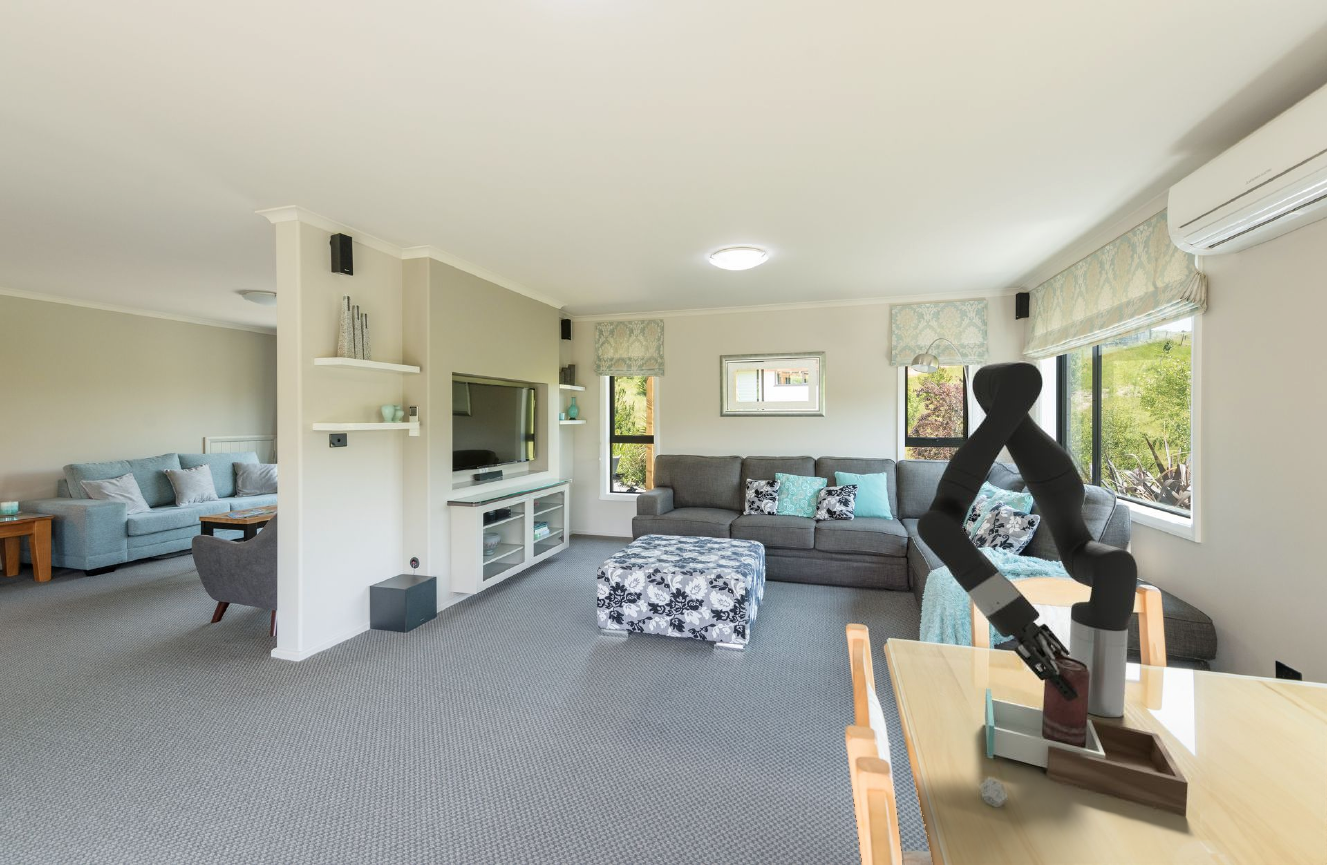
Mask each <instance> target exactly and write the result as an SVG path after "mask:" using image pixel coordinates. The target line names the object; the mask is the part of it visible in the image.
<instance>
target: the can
mask: <svg viewBox="0 0 1327 865" xmlns="http://www.w3.org/2000/svg"><path fill="white" fill-rule="evenodd" d="M1054 657H1055V661H1054V662H1055V664H1056V666H1057V667H1058V669H1059V670H1060V672H1061V674H1063V675H1064V676H1065V678H1066V679H1067V680H1068V681H1069V682H1070V683H1071V685H1072V686H1073V687H1074V688H1075V689H1076V690H1077V691H1078V693H1079V696H1078V697H1077V698H1075V699H1073V700H1071V701H1067V700H1065V698H1064V697H1063V696H1062V695H1061V694H1060V693H1059V691H1058V690H1057V689H1056V688H1055V687H1054V686H1053V684H1052V683H1051V682H1050V680H1049V681H1047V680H1046V679H1045V680H1044V687H1043V704H1042V709H1043V720H1042V736H1043V738H1044V739H1047V740H1051V741H1055V742H1059V743H1063V744H1068V745H1072V746H1076V747H1080V748H1085V747H1086V731H1087V719H1088V696H1089V678H1090V673H1089V671H1088V669H1087V666H1086V665H1085V664H1084V663H1082V662H1080V661H1077V660H1075V659H1071V658H1067V657H1062V656H1054Z"/></svg>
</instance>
